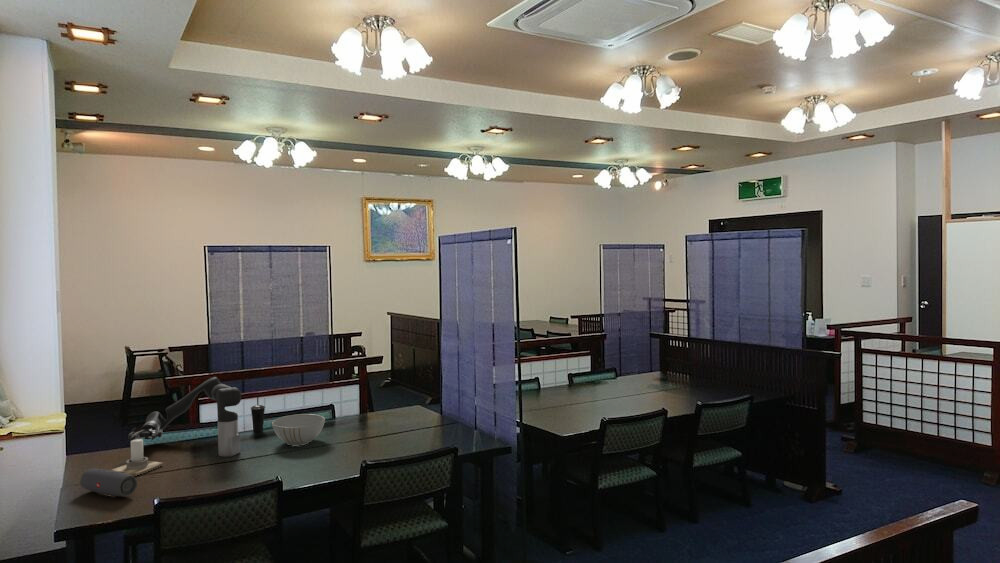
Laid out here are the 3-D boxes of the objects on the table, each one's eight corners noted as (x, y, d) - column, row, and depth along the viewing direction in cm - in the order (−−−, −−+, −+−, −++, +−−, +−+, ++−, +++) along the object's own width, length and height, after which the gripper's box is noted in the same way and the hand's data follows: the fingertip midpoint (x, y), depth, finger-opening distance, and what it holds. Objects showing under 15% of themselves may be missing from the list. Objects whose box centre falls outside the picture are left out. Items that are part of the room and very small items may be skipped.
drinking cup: (268, 429, 354) (267, 395, 353) (259, 433, 347) (258, 398, 346) (257, 428, 356) (256, 394, 355) (247, 432, 349) (247, 397, 348)
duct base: (163, 465, 294) (163, 456, 294) (136, 476, 280) (136, 466, 279) (138, 462, 298) (138, 453, 298) (110, 473, 284) (110, 463, 284)
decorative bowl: (284, 454, 311) (284, 430, 310) (264, 442, 331) (264, 419, 331) (334, 443, 329) (333, 421, 328) (312, 432, 349) (311, 411, 348)
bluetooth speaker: (79, 495, 259) (78, 471, 258) (100, 487, 267) (99, 464, 267) (118, 503, 251) (117, 478, 250) (138, 494, 259) (138, 471, 259)
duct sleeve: (146, 464, 291) (145, 439, 290) (137, 468, 286) (136, 442, 285) (137, 463, 292) (137, 438, 292) (128, 467, 287) (127, 441, 287)
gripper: (165, 435, 317) (159, 444, 302) (134, 438, 313) (125, 447, 298) (165, 421, 317) (158, 429, 302) (133, 423, 313) (125, 432, 297)
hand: (142, 438), depth 300 cm, fingers open, 8 cm apart
